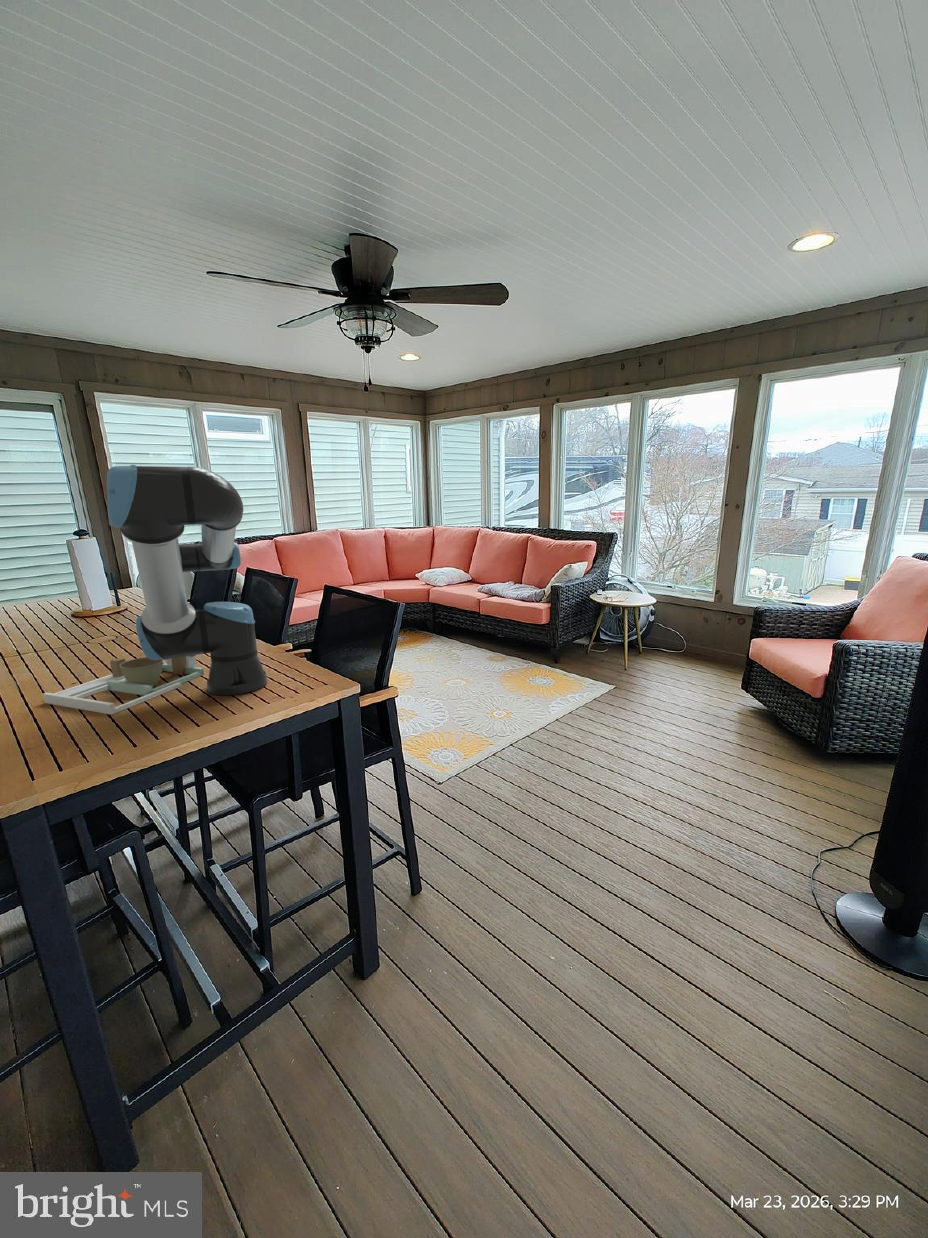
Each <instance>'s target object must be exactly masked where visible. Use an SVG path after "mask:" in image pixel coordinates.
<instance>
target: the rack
mask: <svg viewBox="0 0 928 1238" xmlns="http://www.w3.org/2000/svg"><path fill="white" fill-rule="evenodd" d="M110 676H113V675H112V673H110V674H109V675H105V676H102V677H99V678H96V679H93V680H91V681H87V682H84V683H82V684H78V685H76V686H72V687H68V688H66V689H62V690H60V691H57V692H54V693H52V692H44V693H42V697H43V700H44V701H43V702H44V704H48V705H54V706H59V707H65V708H72V709H76V710H83V711H89V712H95V713H101V714H105V715H106V714H107V715H114V714H116V713H117V714H118V713H119V712H121V711H123V710H126V709H129V708H131V707H134V706H136V705H139V704H141V703H143V702H146V701H149V700H151V699H153V698H156V697H158V696H161V695H163V694H165V693H168V692H170V691H174V690H175V689H177V688H178V689H179V688H180V687H182V683H179V682H178V683H175V684H173V685H170V686H168V687H165V688H163V689H160V690H158V691H155V692H153V693H150V694H148V695H145V696H144V695H142V696H141V697H138V698H135V699H132V700H130V701H127V702H125V703H122V704H121V705H117V706H115V703H113V702H107V701H103V700H102V701H101V700H95V699H89V698H86V697H90V696H93V695H96V694H98V693H101V692H104V691H107V690H108V686H107V685H104V686H101V687H98V688H95V689H93V690H90V691H87V692H84V693H81V694H78V695H75V696H66V695H60V694H59V693H62V692H65V691H68V690H71V689H74V688H77V687H80V686H83V685H86V684H89V683H92V682H95V681H98V680H101V679H104V678H107V677H110ZM123 680H126V679H125V678H124V679H121V680H118V681H123Z"/></svg>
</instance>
